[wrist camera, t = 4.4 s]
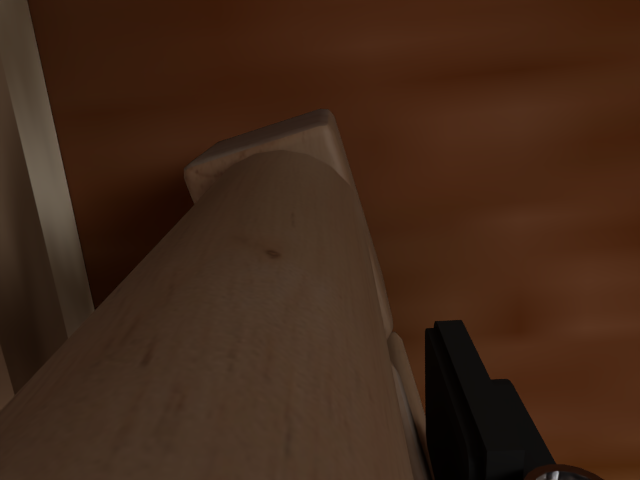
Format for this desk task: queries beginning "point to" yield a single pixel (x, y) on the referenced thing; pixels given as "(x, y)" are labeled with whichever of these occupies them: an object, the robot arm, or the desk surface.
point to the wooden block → (236, 339)
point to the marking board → (33, 216)
